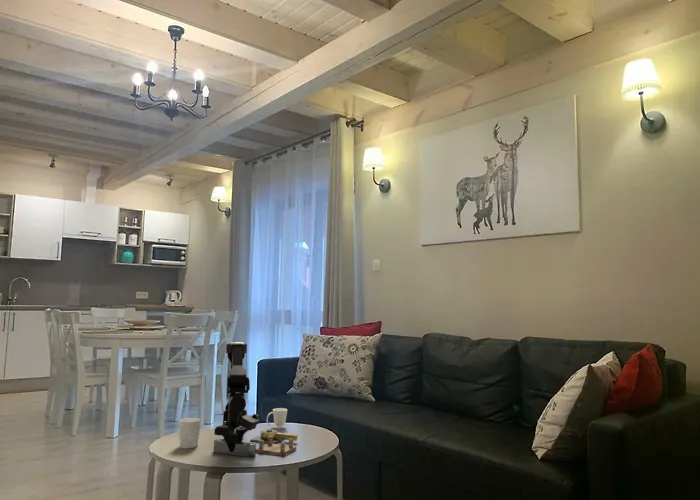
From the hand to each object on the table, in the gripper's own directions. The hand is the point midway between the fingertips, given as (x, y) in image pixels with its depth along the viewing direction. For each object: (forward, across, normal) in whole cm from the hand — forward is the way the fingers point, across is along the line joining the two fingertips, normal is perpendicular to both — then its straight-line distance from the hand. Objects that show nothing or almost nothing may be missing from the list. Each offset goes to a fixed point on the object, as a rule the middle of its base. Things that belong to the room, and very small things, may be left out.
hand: (234, 450), depth 195 cm
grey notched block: (+1, 0, 0) cm, 1 cm away
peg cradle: (+1, +10, -12) cm, 16 cm away
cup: (+2, +45, +7) cm, 46 cm away
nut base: (+1, +24, -1) cm, 24 cm away
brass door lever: (0, +24, -6) cm, 25 cm away
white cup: (+2, +2, +22) cm, 22 cm away
